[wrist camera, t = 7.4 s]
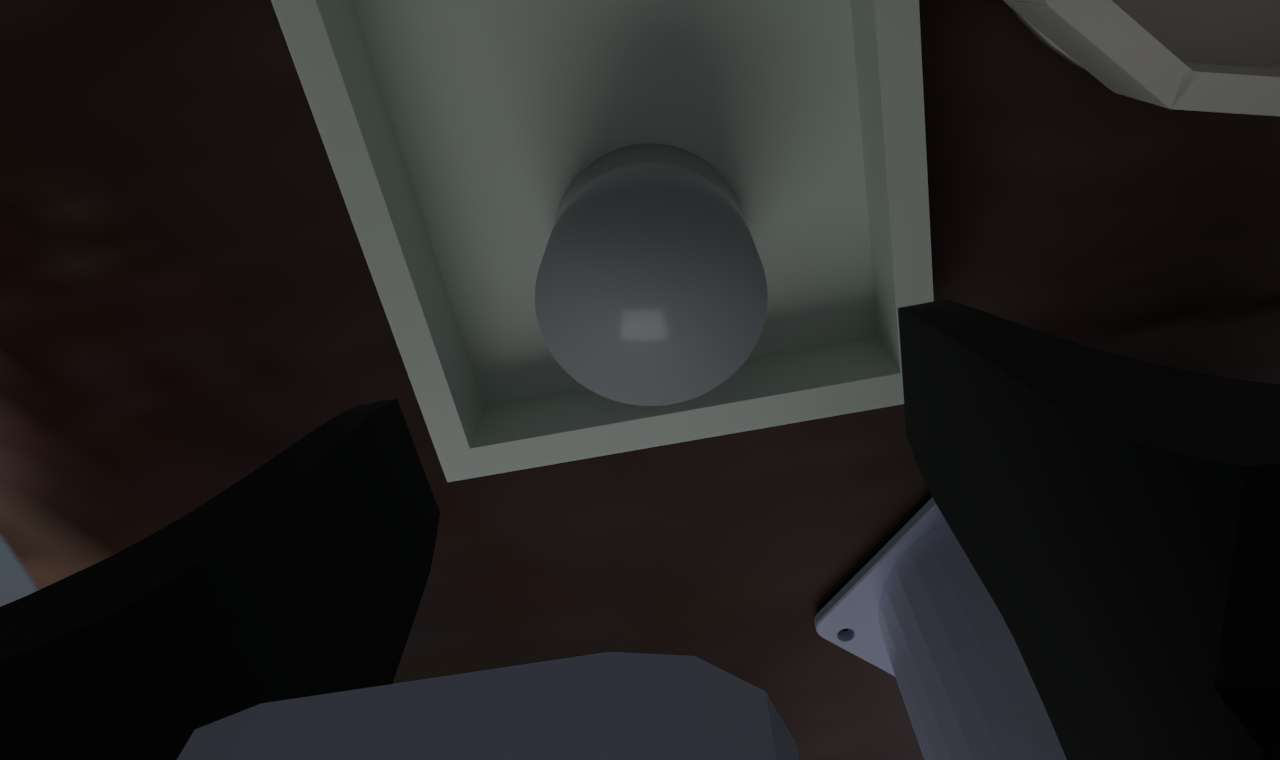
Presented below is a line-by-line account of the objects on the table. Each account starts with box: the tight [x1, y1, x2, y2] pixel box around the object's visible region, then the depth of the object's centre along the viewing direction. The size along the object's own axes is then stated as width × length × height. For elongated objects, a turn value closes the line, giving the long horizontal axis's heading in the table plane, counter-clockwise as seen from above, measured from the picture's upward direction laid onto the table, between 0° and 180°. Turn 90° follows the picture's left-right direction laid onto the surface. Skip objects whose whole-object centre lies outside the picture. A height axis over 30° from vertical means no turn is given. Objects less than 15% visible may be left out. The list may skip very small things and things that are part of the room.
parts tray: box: [271, 0, 934, 482], centre depth 18 cm, size 15×12×3 cm
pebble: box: [535, 144, 768, 406], centre depth 18 cm, size 4×4×4 cm
